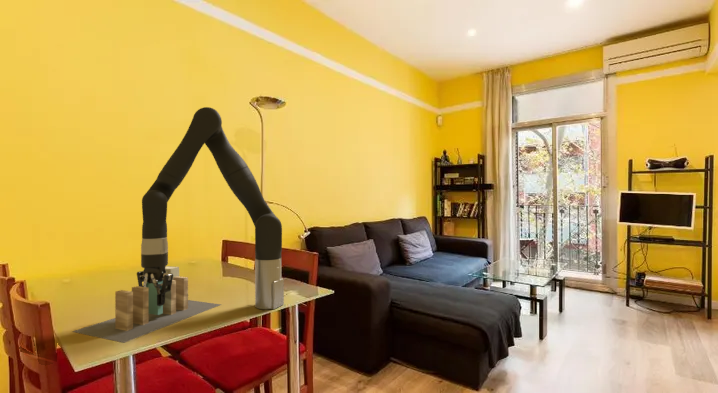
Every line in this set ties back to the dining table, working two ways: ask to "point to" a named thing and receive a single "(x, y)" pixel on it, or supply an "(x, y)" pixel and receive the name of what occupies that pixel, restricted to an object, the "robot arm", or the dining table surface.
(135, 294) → the domino
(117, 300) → the domino
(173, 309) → the domino
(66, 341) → the dining table surface
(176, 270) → the skincare box
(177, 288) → the domino
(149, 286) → the domino
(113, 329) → the mat
